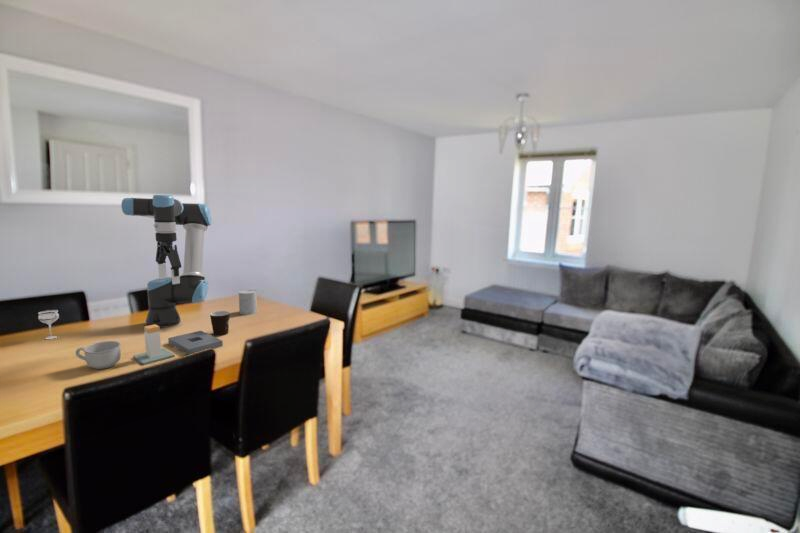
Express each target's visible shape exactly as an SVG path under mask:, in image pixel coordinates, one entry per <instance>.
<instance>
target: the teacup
mask: <svg viewBox="0 0 800 533" xmlns="http://www.w3.org/2000/svg"><path fill="white" fill-rule="evenodd" d="M80 351H83V352H84V355H83V354H81V353H80ZM121 354H122V351H121V342H119V341H117V340H105V341H104V340H103V341H98V342H95V343H92V344H89V345H87V346H86V347H84V346H81V347H78V348H77V349H76V350H75V356H76V357H77V358H78V359H80V360H83V361H85V362H86V365H87V366H88V367H89V368H93V369H95V370H104V369H108V368H111V367H113V366H115V365H116V364H117V363H118V362H119V361H120V359H121V356H122V355H121Z"/></svg>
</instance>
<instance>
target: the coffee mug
mask: <svg viewBox="0 0 800 533" xmlns="http://www.w3.org/2000/svg"><path fill="white" fill-rule="evenodd" d="M230 315H231V313H230V311H228V310H218V311H212V312H211V313H210V314H209V317H210V322H211V328H212V334H213V336H217V337H220V336H221V337H222V336H225V335H228V334H229V327H230Z"/></svg>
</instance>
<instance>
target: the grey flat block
mask: <svg viewBox="0 0 800 533" xmlns="http://www.w3.org/2000/svg"><path fill="white" fill-rule="evenodd" d="M167 340H168V344H169V345H170V346H172V347H173V348H176V349H177V350H179V351H181V352H183V353H185V354H186V355H188V356H190V355H189V354H192V353H195V352H198V351H202V350H205V349H209V348H214V349H217V348H221V347H223V343H224V342H223V340H222V339H220V338H218V337H215V335H211V334H209V333H207V332H204V331H202V330H197V331H193V332H189V333H184V334H181V335H176V336H170V337H168V339H167ZM195 354H196V353H195ZM192 355H193V354H192Z"/></svg>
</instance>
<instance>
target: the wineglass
mask: <svg viewBox="0 0 800 533" xmlns="http://www.w3.org/2000/svg"><path fill="white" fill-rule="evenodd" d="M58 312H59V310H58V309H47V310H42V311H39V312H38V313H37V314H38V317H37V319H38V320H39V321H40V322H41V323H43V324H46V325H48V330H49V336H47V337H44V338H45V339H51V340H54V339H53V338H56V339H58V338H57V336H58V335H53V334H52V324H53V323H55V322H56V321H57V320H58V319H60V314H59V313H58Z"/></svg>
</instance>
